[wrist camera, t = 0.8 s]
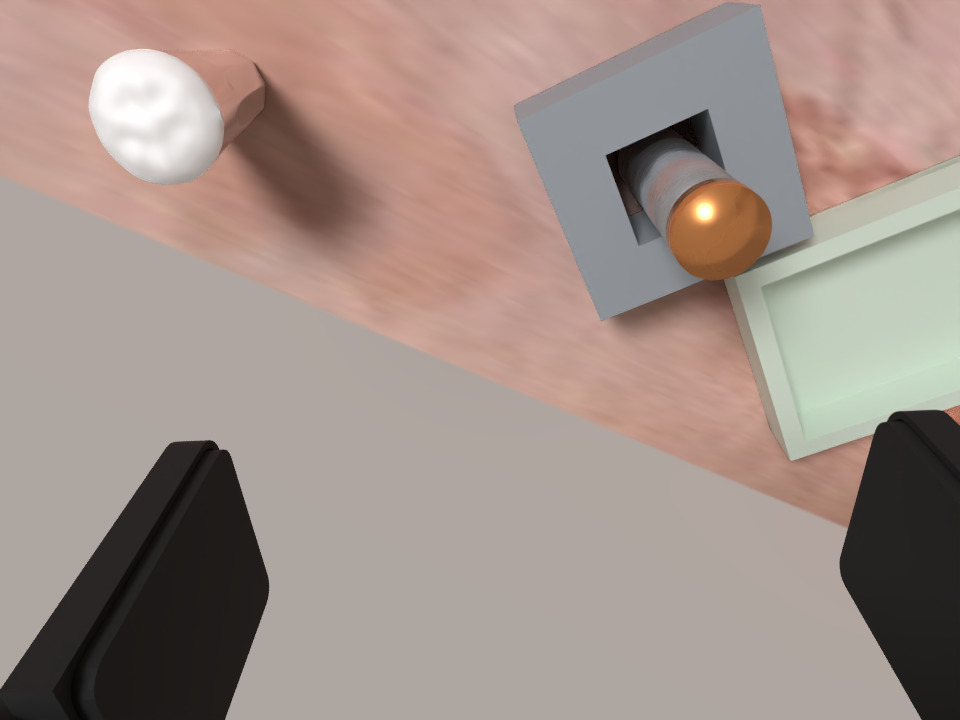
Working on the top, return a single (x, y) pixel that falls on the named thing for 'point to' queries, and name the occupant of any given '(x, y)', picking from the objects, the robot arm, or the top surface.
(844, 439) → the tray
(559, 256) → the top surface
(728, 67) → the socket block
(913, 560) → the robot arm
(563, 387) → the top surface
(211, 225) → the top surface
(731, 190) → the pin
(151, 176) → the milkshake
